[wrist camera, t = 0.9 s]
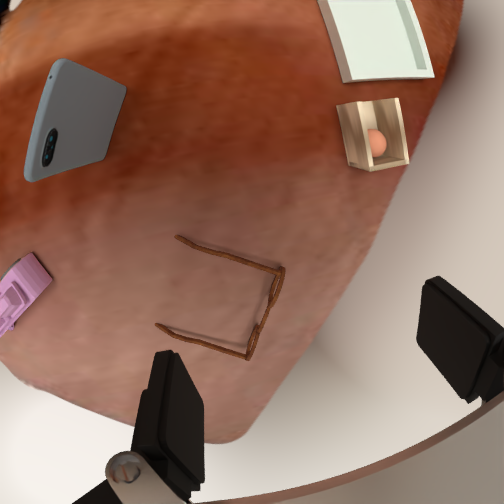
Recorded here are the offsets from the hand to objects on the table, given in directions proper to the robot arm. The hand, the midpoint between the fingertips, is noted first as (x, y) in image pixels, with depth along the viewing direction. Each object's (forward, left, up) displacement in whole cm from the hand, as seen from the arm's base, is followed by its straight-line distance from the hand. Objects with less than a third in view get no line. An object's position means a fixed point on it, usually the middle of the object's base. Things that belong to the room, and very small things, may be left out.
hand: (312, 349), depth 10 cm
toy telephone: (+2, -35, -24) cm, 43 cm away
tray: (-20, +20, -24) cm, 36 cm away
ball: (-4, +15, -23) cm, 28 cm away
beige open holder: (-5, +15, -24) cm, 28 cm away
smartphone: (-13, -11, -24) cm, 29 cm away
